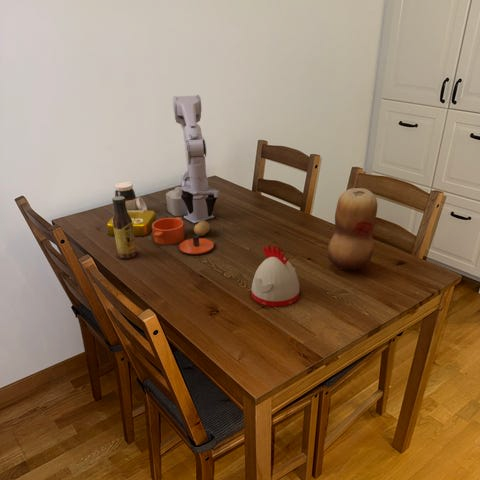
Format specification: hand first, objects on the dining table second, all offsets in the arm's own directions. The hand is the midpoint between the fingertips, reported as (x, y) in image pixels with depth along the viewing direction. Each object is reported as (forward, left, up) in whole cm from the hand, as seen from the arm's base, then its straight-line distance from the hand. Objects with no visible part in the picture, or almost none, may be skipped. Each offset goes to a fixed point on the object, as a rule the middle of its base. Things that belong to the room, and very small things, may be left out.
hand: (200, 214), depth 169 cm
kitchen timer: (+7, +49, -8) cm, 50 cm away
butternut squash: (-21, +52, -8) cm, 56 cm away
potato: (0, 0, -8) cm, 8 cm away
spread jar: (+10, -36, -8) cm, 38 cm away
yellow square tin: (+17, -22, -8) cm, 29 cm away
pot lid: (+8, +8, -7) cm, 14 cm away
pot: (+11, -5, -8) cm, 14 cm away
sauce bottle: (+29, -2, -8) cm, 30 cm away
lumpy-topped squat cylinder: (-8, -25, -8) cm, 28 cm away
